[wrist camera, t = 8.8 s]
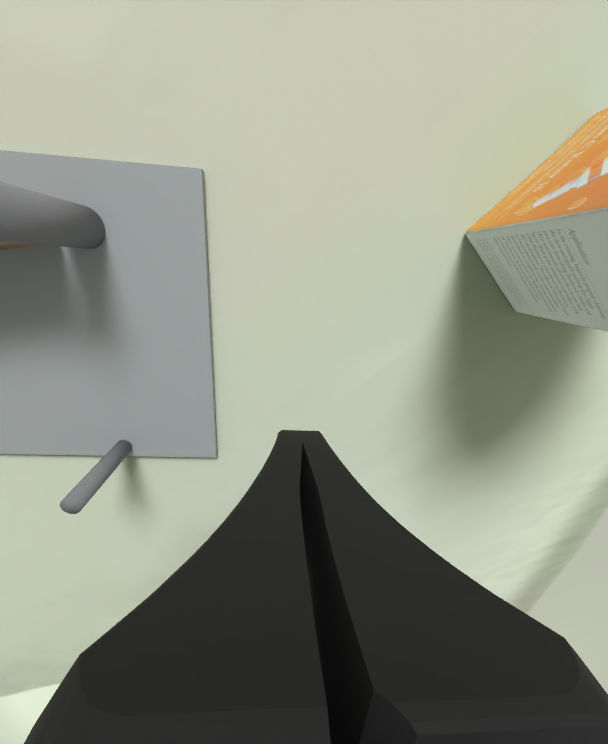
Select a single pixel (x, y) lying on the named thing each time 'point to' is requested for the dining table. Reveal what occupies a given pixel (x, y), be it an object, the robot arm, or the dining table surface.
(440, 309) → the dining table surface
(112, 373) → the gate frame
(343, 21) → the dining table surface
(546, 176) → the small box
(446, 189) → the dining table surface
